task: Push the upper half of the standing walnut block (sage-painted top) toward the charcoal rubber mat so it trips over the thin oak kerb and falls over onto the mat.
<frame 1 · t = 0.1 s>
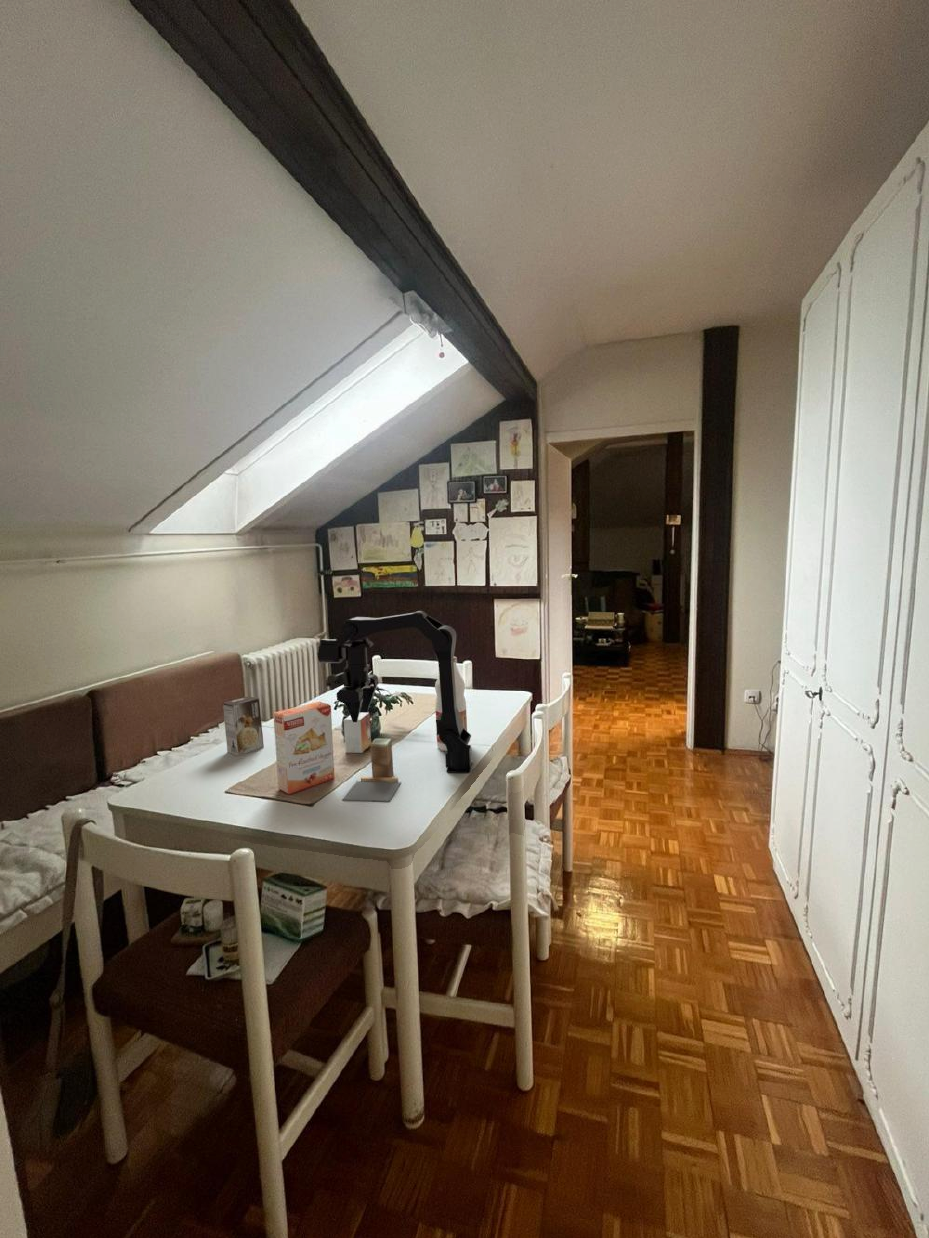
hand: (360, 717, 165), 14 cm above the table, fingers open, 9 cm apart
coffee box: (245, 750, 184), on the table
cracker box: (307, 784, 155), on the table
kerb: (379, 781, 155), on the table
small box: (358, 749, 181), on the table
fruit juice: (452, 747, 180), on the table
mat: (372, 791, 149), on the table
walnut block: (383, 776, 158), on the table
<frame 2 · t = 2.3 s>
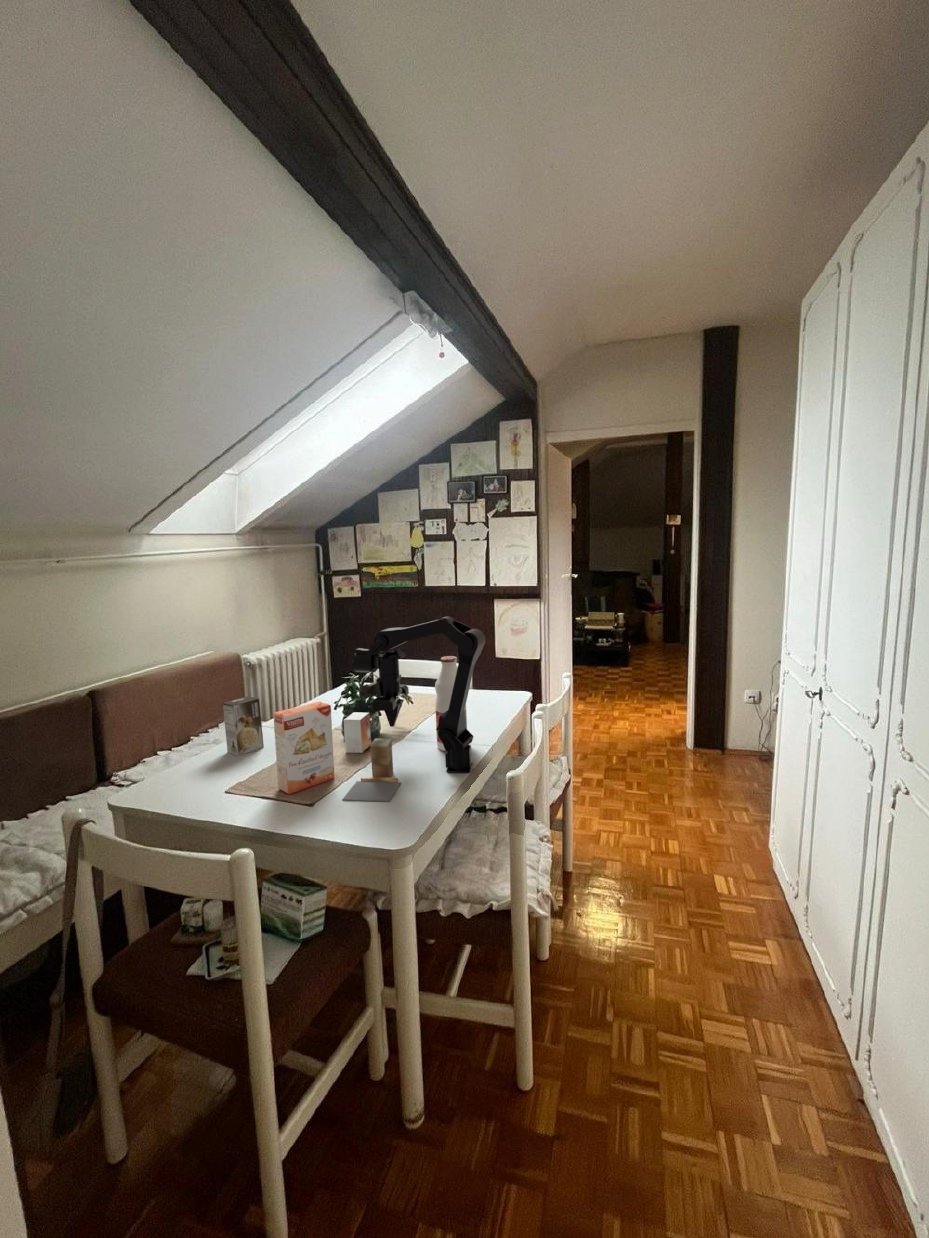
hand: (392, 726, 168), 11 cm above the table, fingers closed
nothing on the table moved.
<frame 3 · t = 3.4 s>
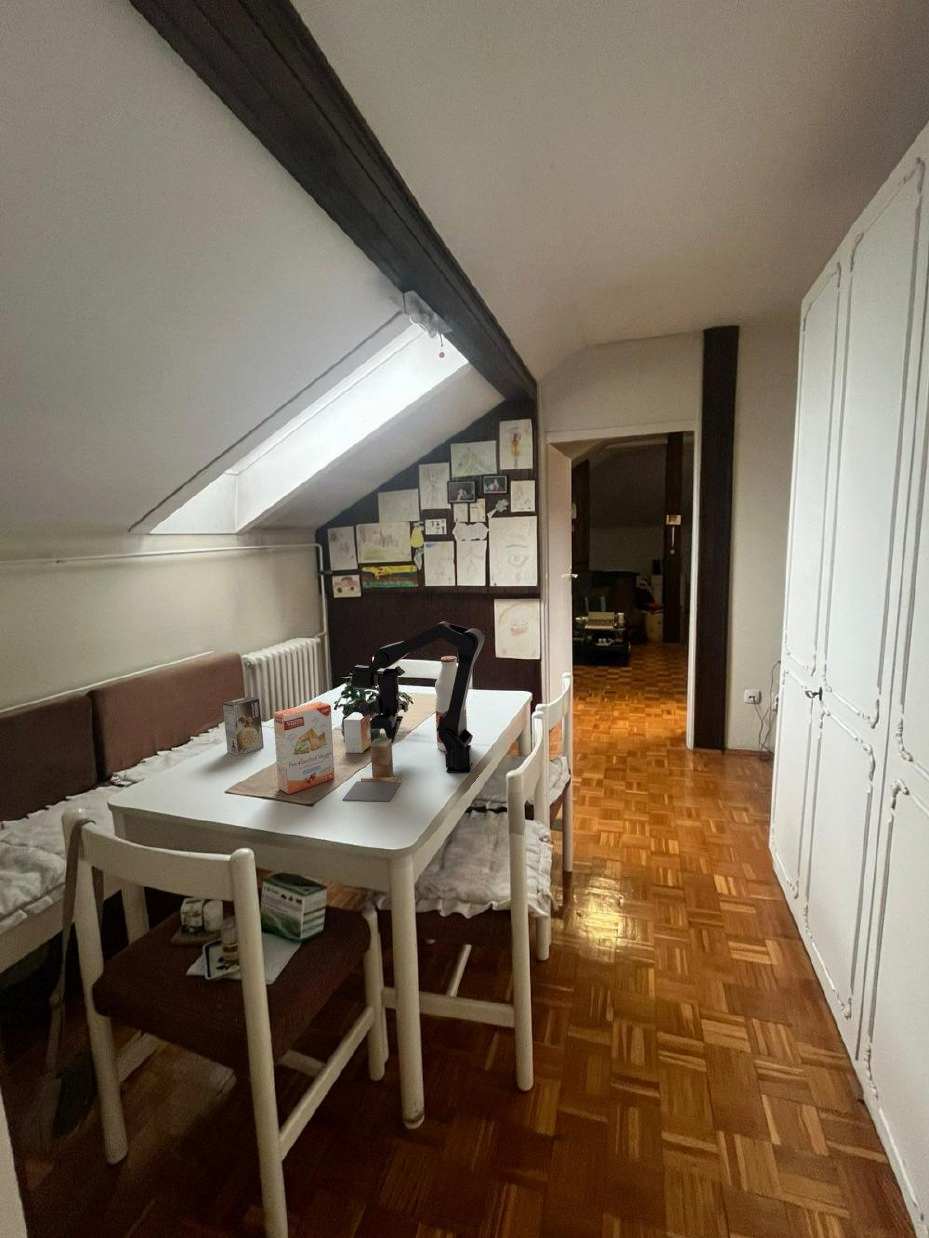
hand: (391, 743, 167), 6 cm above the table, fingers closed
nothing on the table moved.
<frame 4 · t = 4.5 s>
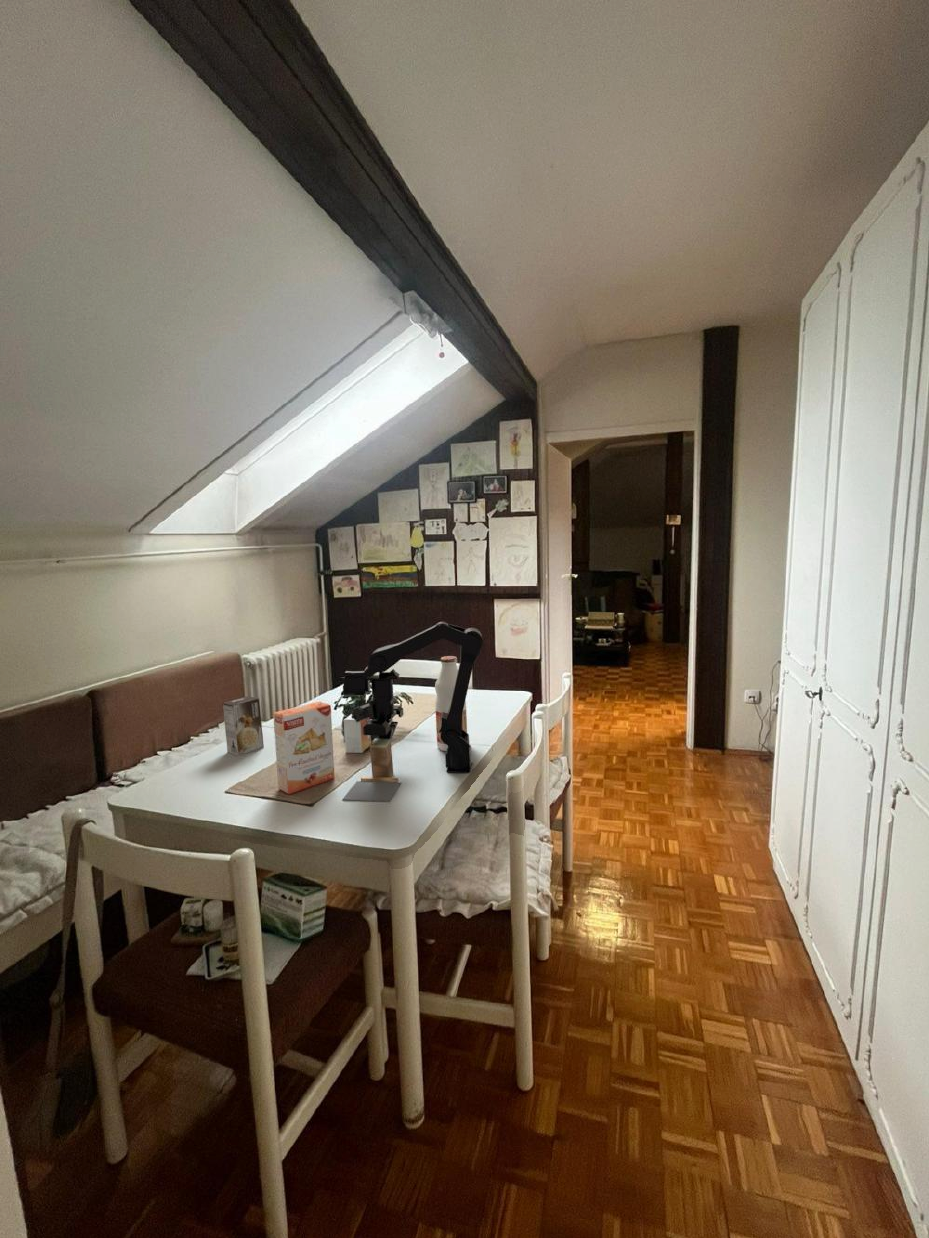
hand: (385, 749, 161), 6 cm above the table, fingers closed
walnut block: (383, 776, 158), on the table, touching gripper
everything else where it was.
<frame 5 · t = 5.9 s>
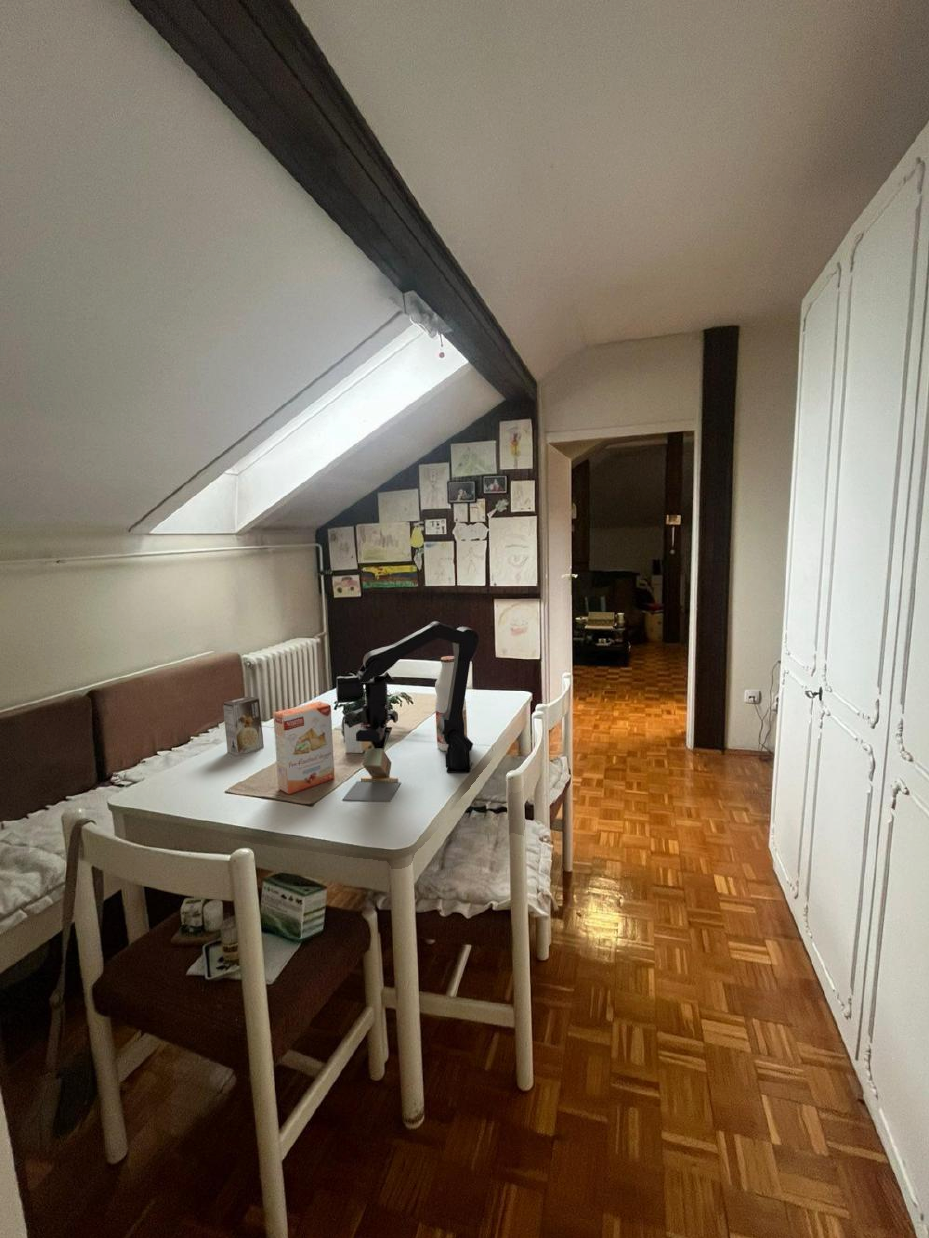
hand: (379, 756, 156), 7 cm above the table, fingers closed
walnut block: (382, 770, 158), point 2 cm above the table, tilted 47°, touching gripper, kerb
everything else where it was.
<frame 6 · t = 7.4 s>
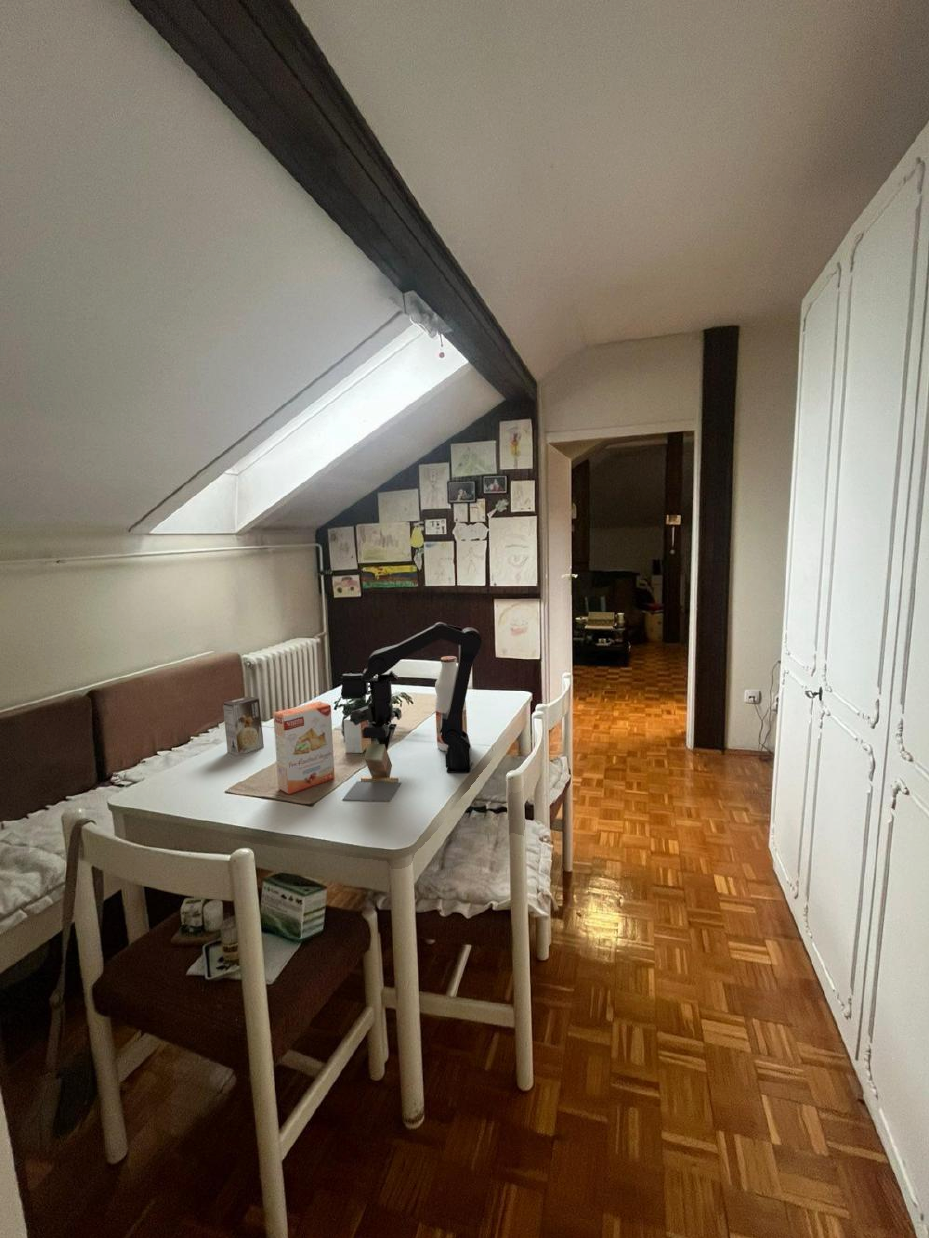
hand: (384, 752, 160), 6 cm above the table, fingers closed
walnut block: (382, 772, 158), point 1 cm above the table, tilted 36°
everything else where it was.
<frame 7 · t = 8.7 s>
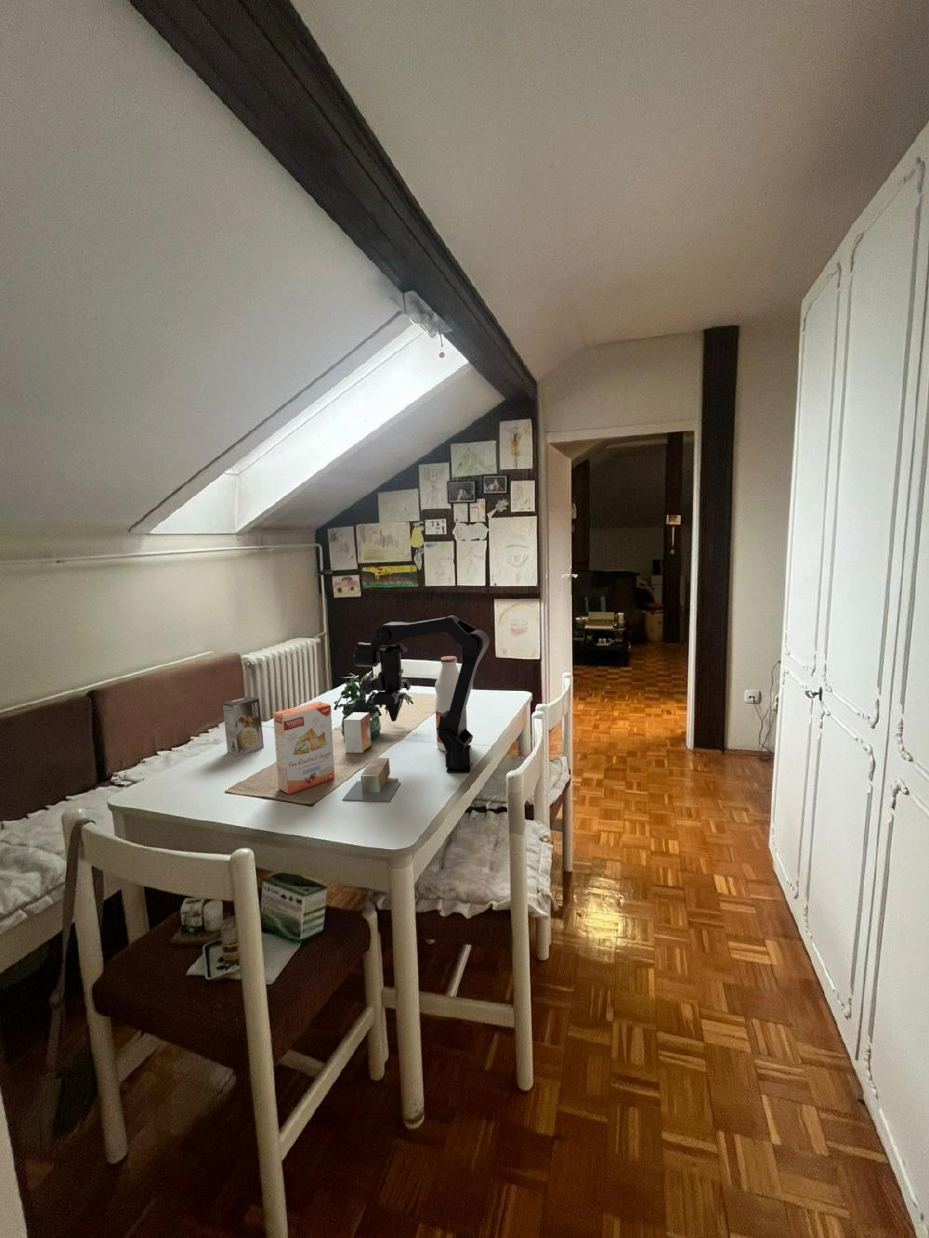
hand: (393, 720, 166), 12 cm above the table, fingers closed
walnut block: (381, 765, 157), point 4 cm above the table, tilted 96°, touching kerb, mat
everything else where it was.
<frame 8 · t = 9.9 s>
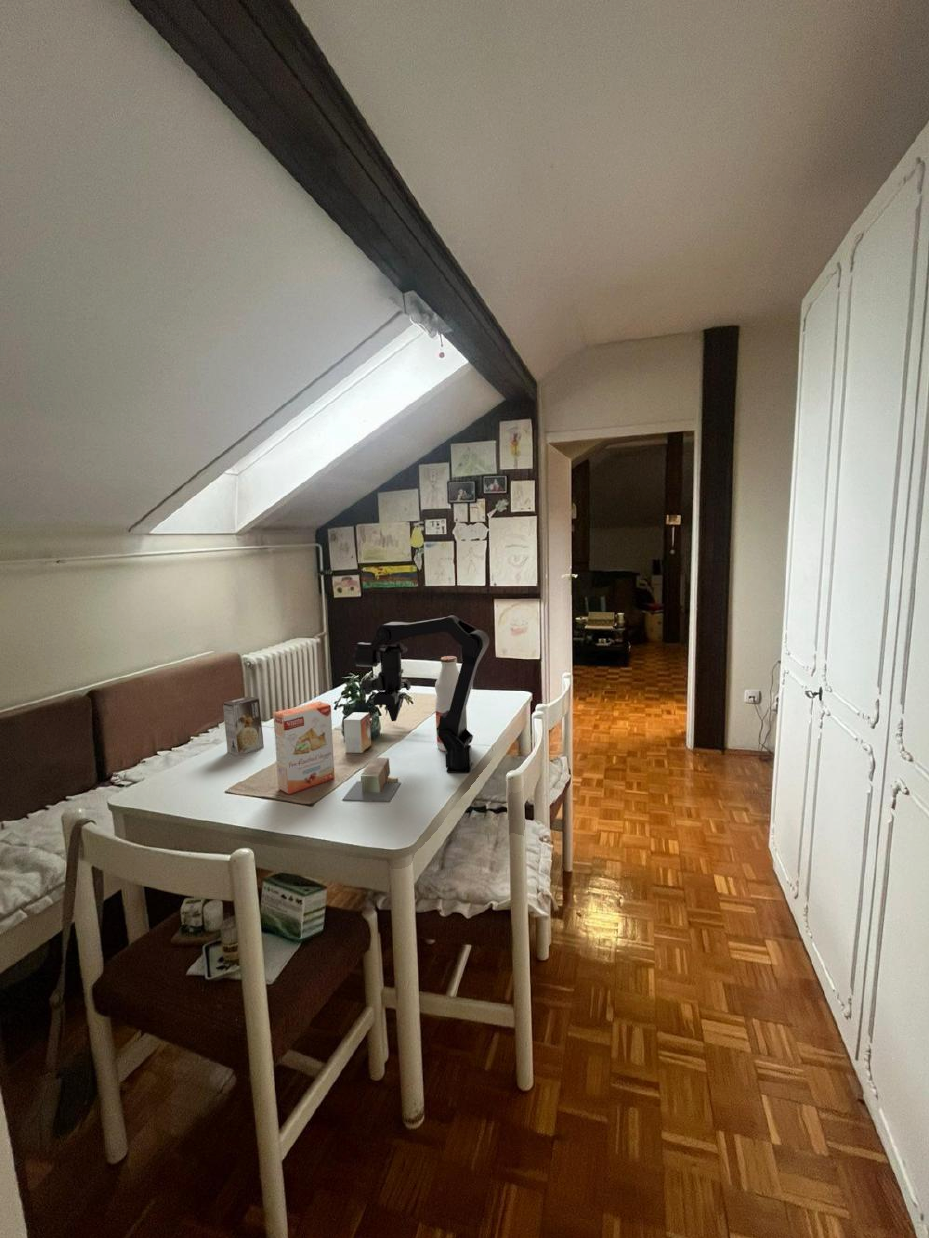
hand: (393, 720, 166), 13 cm above the table, fingers closed
nothing on the table moved.
at the end: walnut block tilted 96°; walnut block inside the target area (9.6 cm from its centre), point 3.6 cm above the table; the gripper is holding nothing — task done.
